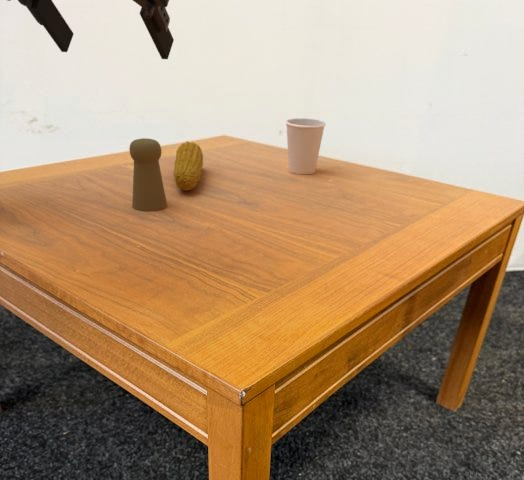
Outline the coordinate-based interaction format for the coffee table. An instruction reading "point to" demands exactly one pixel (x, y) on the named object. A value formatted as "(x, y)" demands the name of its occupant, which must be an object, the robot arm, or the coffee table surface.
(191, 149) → the food
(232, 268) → the coffee table surface
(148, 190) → the cork
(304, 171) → the dixie cup
